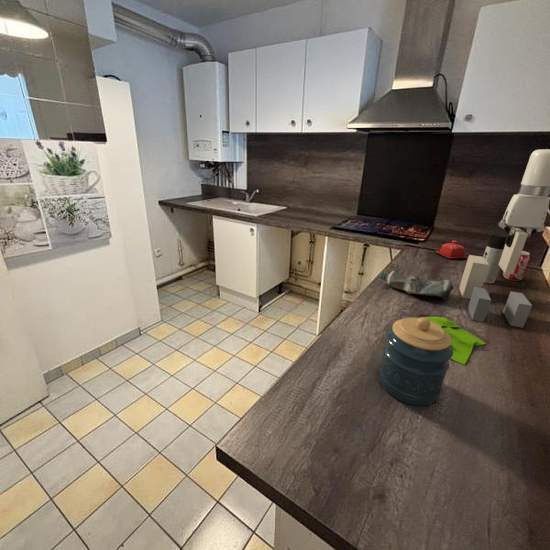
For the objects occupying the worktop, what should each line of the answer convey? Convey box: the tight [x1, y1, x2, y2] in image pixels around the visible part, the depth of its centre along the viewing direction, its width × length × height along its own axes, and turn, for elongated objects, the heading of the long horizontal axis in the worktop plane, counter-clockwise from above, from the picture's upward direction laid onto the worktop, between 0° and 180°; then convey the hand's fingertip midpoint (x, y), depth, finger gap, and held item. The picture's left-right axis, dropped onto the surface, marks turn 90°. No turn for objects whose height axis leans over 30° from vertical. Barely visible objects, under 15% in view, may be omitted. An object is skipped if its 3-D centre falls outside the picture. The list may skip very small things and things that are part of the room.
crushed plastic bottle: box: [380, 270, 454, 301], centre depth 110 cm, size 13×7×25 cm
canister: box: [378, 316, 453, 406], centre depth 63 cm, size 13×13×18 cm
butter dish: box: [435, 239, 469, 260], centre depth 150 cm, size 12×12×8 cm
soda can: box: [502, 250, 531, 282], centre depth 123 cm, size 7×7×12 cm
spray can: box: [482, 232, 508, 285], centre depth 119 cm, size 7×7×20 cm
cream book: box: [498, 227, 528, 274], centre depth 100 cm, size 2×9×14 cm, turn 156°
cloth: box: [424, 316, 487, 366], centre depth 83 cm, size 20×22×2 cm
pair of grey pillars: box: [467, 287, 533, 329], centre depth 93 cm, size 13×9×8 cm
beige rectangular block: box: [458, 254, 489, 300], centre depth 108 cm, size 5×9×14 cm, turn 156°
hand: (513, 246), depth 100 cm, fingers closed on cream book, 2 cm apart
